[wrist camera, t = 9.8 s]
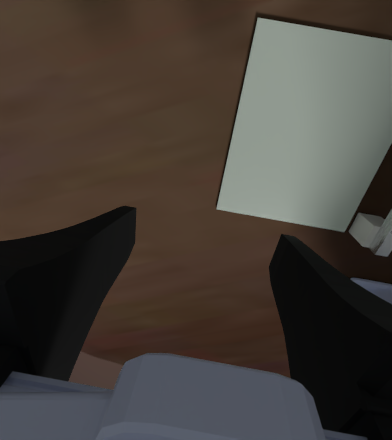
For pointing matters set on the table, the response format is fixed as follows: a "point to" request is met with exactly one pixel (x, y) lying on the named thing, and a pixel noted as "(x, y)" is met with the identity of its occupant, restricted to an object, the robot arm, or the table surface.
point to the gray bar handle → (365, 228)
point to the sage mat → (309, 125)
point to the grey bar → (383, 238)
